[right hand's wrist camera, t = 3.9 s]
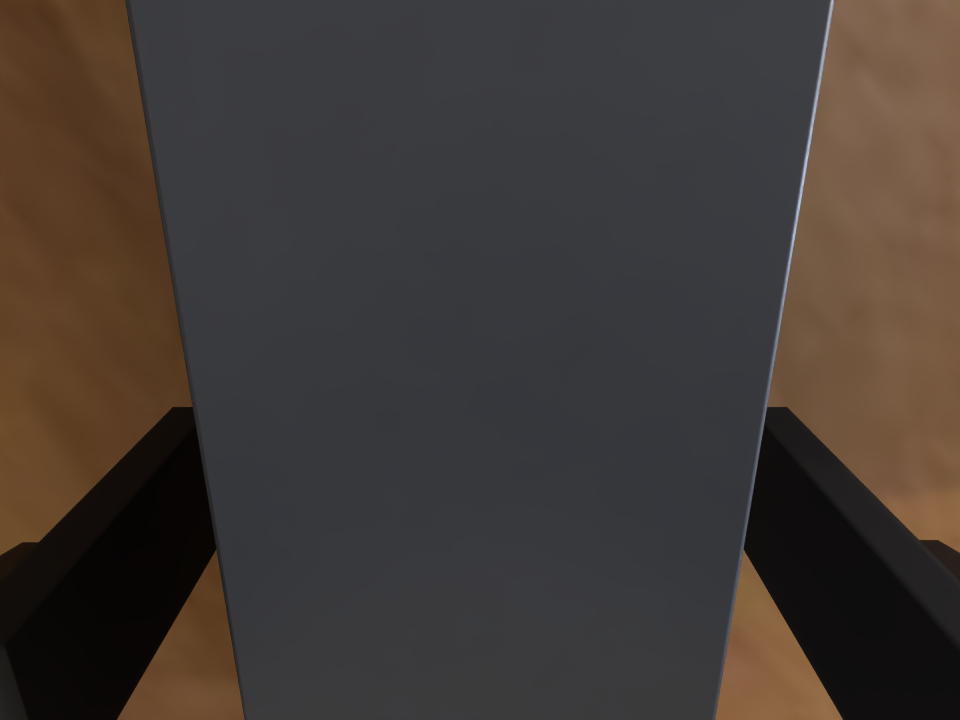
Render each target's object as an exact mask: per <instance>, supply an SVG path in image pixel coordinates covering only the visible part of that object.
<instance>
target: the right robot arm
mask: <svg viewBox="0 0 960 720" xmlns="http://www.w3.org/2000/svg"><path fill="white" fill-rule="evenodd" d="M743 549H744V551H745V552H746V554H747V556H748V557H749V559H750V561H751V563H752V564H753V566H754V568H755V569H756V571H757V573H758V575H759V576H760V578H761V580H762V581H763V583H764V585H765V587H766V588H767V590H768V592H769V593H770V595H771V597H772V599H773V600H774V602H775V604H776V605H777V607H778V609H779V611H780V612H781V614H782V616H783V617H784V619H785V621H786V623H787V624H788V626H789V628H790V629H791V631H792V633H793V634H794V636H795V638H796V640H797V641H798V643H799V645H800V646H801V648H802V650H803V652H804V653H805V655H806V657H807V658H808V660H809V662H810V664H811V665H812V667H813V669H814V670H815V672H816V674H817V676H818V677H819V679H820V681H821V682H822V684H823V686H824V688H825V689H826V691H827V693H828V694H829V696H830V698H831V700H832V701H833V703H834V705H835V706H836V708H837V710H838V712H839V713H840V715H841V717H842V718H843V720H960V553H959V552H957V551H955V550H954V549H952V548H950V547H949V546H947V545H945V544H944V543H942V542H940V541H939V540H918V539H917V538H916V537H915V536H914V535H913V534H912V533H911V532H910V531H909V530H908V529H907V528H906V527H905V526H904V525H903V524H902V523H901V522H900V521H899V520H898V519H897V518H896V517H895V516H894V515H893V514H892V513H891V512H890V511H889V510H888V509H887V507H886V506H885V505H884V504H883V503H882V502H881V501H880V500H879V499H878V498H877V497H876V496H875V495H874V494H873V493H872V492H871V491H870V490H869V489H868V488H867V487H866V486H865V485H864V484H863V483H862V482H861V481H860V480H859V479H858V478H857V477H856V476H855V475H854V474H853V473H852V472H851V471H850V470H849V469H848V468H847V467H846V466H845V465H844V464H843V463H842V462H841V461H840V460H839V459H838V458H837V457H836V456H835V455H834V454H833V453H832V452H831V451H830V450H829V449H828V448H827V447H826V446H825V445H824V444H823V443H822V442H821V441H820V440H819V439H818V438H817V437H816V436H815V435H814V434H813V433H812V432H811V431H810V430H809V429H808V428H807V427H806V426H805V425H804V424H803V423H802V422H801V421H800V420H799V419H798V418H797V417H796V416H795V415H794V414H793V413H792V412H791V411H790V410H789V409H788V408H787V407H767V410H766V416H765V422H764V428H763V434H762V440H761V446H760V452H759V458H758V464H757V470H756V476H755V482H754V488H753V494H752V500H751V506H750V512H749V518H748V524H747V530H746V536H745V542H744V548H743ZM215 551H216V543H215V537H214V531H213V525H212V519H211V513H210V507H209V501H208V495H207V489H206V483H205V477H204V471H203V465H202V459H201V453H200V447H199V441H198V435H197V429H196V423H195V417H194V411H193V407H173V408H172V409H171V410H170V411H169V412H168V413H167V414H166V415H165V416H164V417H163V418H162V419H161V420H160V421H159V422H158V423H157V424H156V425H155V426H154V427H153V428H152V429H151V430H150V431H149V432H148V433H147V434H146V435H145V436H144V437H143V438H142V439H141V440H140V441H139V442H138V443H137V444H136V445H135V446H134V447H133V448H132V449H131V450H130V451H129V452H128V453H127V454H126V455H125V456H124V457H123V458H122V459H121V460H120V461H119V462H118V463H117V464H116V465H115V466H114V467H113V468H112V469H111V470H110V471H109V472H108V473H107V474H106V475H105V476H104V477H103V478H102V479H101V480H100V481H99V482H98V483H97V484H96V485H95V486H94V487H93V488H92V489H91V490H90V491H89V492H88V493H87V494H86V495H85V496H84V497H83V498H82V499H81V500H80V501H79V502H78V503H77V504H76V505H75V506H74V507H73V508H72V509H71V511H70V512H69V513H68V514H67V515H66V516H65V517H64V518H63V519H62V520H61V521H60V522H59V523H58V524H57V525H56V526H55V527H54V528H53V529H52V530H51V531H50V532H49V533H48V534H47V535H46V536H45V537H44V538H43V539H42V540H41V541H40V542H22V543H21V544H19V545H17V546H16V547H14V548H12V549H11V550H9V551H7V552H6V553H4V554H2V555H1V556H0V720H117V718H118V717H119V715H120V713H121V712H122V710H123V708H124V706H125V705H126V703H127V701H128V700H129V698H130V696H131V694H132V693H133V691H134V689H135V688H136V686H137V684H138V682H139V681H140V679H141V677H142V676H143V674H144V672H145V670H146V669H147V667H148V665H149V664H150V662H151V660H152V658H153V657H154V655H155V653H156V652H157V650H158V648H159V646H160V645H161V643H162V641H163V640H164V638H165V636H166V634H167V633H168V631H169V629H170V628H171V626H172V624H173V622H174V621H175V619H176V617H177V616H178V614H179V612H180V611H181V609H182V607H183V605H184V604H185V602H186V600H187V599H188V597H189V595H190V593H191V592H192V590H193V588H194V587H195V585H196V583H197V581H198V580H199V578H200V576H201V575H202V573H203V571H204V569H205V568H206V566H207V564H208V563H209V561H210V559H211V557H212V556H213V554H214V552H215Z"/></svg>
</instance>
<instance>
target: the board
mask: <svg viewBox="0 0 960 720" xmlns="http://www.w3.org/2000/svg"><path fill="white" fill-rule="evenodd" d="M125 1H126V7H127V13H128V19H129V25H130V32H131V38H132V44H133V50H134V56H135V62H136V68H137V74H138V80H139V86H140V92H141V98H142V104H143V110H144V116H145V122H146V128H147V134H148V140H149V146H150V152H151V158H152V164H153V170H154V176H155V182H156V188H157V194H158V200H159V206H160V212H161V218H162V224H163V230H164V236H165V242H166V248H167V254H168V260H169V266H170V272H171V278H172V284H173V290H174V296H175V302H176V308H177V314H178V320H179V327H180V333H181V339H182V345H183V351H184V357H185V363H186V369H187V375H188V381H189V387H190V393H191V399H192V405H193V411H194V417H195V423H196V429H197V435H198V441H199V447H200V453H201V459H202V465H203V471H204V477H205V483H206V489H207V495H208V501H209V507H210V513H211V519H212V525H213V531H214V537H215V543H216V549H217V555H218V561H219V567H220V573H221V579H222V585H223V591H224V597H225V603H226V609H227V616H228V622H229V628H230V634H231V640H232V646H233V652H234V658H235V664H236V670H237V676H238V682H239V688H240V694H241V700H242V706H243V712H244V718H245V720H715V717H716V711H717V705H718V699H719V693H720V687H721V681H722V675H723V669H724V663H725V657H726V651H727V645H728V639H729V633H730V627H731V621H732V615H733V608H734V602H735V596H736V590H737V584H738V578H739V572H740V566H741V560H742V554H743V548H744V542H745V536H746V530H747V524H748V518H749V512H750V506H751V500H752V494H753V488H754V482H755V476H756V470H757V464H758V458H759V452H760V446H761V440H762V434H763V428H764V422H765V416H766V410H767V404H768V398H769V392H770V386H771V379H772V373H773V367H774V361H775V355H776V349H777V343H778V337H779V331H780V325H781V319H782V313H783V307H784V301H785V295H786V289H787V283H788V277H789V271H790V265H791V259H792V253H793V247H794V241H795V235H796V229H797V223H798V217H799V211H800V205H801V199H802V193H803V187H804V181H805V175H806V169H807V163H808V157H809V151H810V144H811V138H812V132H813V126H814V120H815V114H816V108H817V102H818V96H819V90H820V84H821V78H822V72H823V66H824V60H825V54H826V48H827V42H828V36H829V30H830V24H831V18H832V12H833V6H834V0H125Z"/></svg>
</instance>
